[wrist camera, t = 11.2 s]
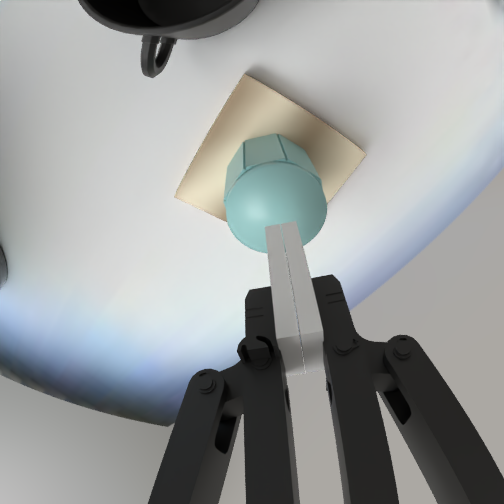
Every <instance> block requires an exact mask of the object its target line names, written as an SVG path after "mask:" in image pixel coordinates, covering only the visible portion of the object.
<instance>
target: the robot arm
mask: <svg viewBox="0 0 504 504" xmlns="http://www.w3.org/2000/svg"><path fill="white" fill-rule="evenodd" d="M281 228H282V232H281ZM282 233H283V237H282ZM265 234H266V243H267V252H268V262H269V271H270V281H271V286H269V287H264V288H258V289H252V290H249V292H248V294H247V296H246V298H245V333H246V337H245V338H244V339H242V341H241V342H240V343H239V345H238V349H237V353H238V355H239V357H240V359H241V360H240V361H239V362H238V363H237V364H236V365H234V366H232V367H230V368H227V369H225V370H223V371H220V372H218V371H217V370H213V369H204V370H201V371H199V372H197V373H196V374H195V375H194V376H193V377H192V378H191V380H190V382H189V384H188V387H187V390H186V393H185V396H184V399H183V402H182V404H181V407H180V410H179V413H178V416H177V419H176V422H175V425H174V428H173V430H172V433H171V436H170V439H169V442H168V445H167V448H166V451H165V454H164V457H163V460H162V463H161V466H160V469H159V472H158V475H157V478H156V480H155V484H154V486H153V490H152V492H151V496H150V499H149V502H148V504H218V503H219V499H220V495H221V491H222V488H223V484H224V481H225V477H226V473H227V469H228V466H229V462H230V458H231V454H232V450H233V447H234V442H235V439H236V435H237V431H238V427H239V423H240V419H241V415H242V414H244V447H245V483H246V504H300V500H299V489H298V478H297V468H296V457H295V447H294V437H293V427H292V418H291V408H290V400H289V390H288V386H287V379H286V376H292V375H298V374H304V373H305V370H306V373H310V372H316V371H321V370H325V373H326V390H327V391H328V395H329V401H330V407H331V413H332V419H333V426H334V432H335V438H336V445H337V452H338V459H339V466H340V474H341V481H342V490H343V498H344V504H399V500H398V494H397V488H396V482H395V476H394V471H393V466H392V460H391V455H390V451H389V446H388V441H387V436H386V432H385V427H384V423H383V419H382V415H381V411H380V407H379V402H378V398H377V395H376V391H378V393H379V395H380V396H381V398H382V400H383V402H384V403H385V405H386V407H387V409H388V411H389V412H390V414H391V416H392V418H393V419H394V421H395V423H396V425H397V427H398V429H399V431H400V432H401V434H402V436H403V438H404V440H405V442H406V443H407V445H408V447H409V449H410V451H411V453H412V454H413V456H414V458H415V460H416V462H417V464H418V466H419V468H420V470H421V471H422V473H423V475H424V477H425V479H426V481H427V483H428V485H429V487H430V489H431V491H432V493H433V494H434V497H435V499H436V501H437V503H438V504H504V478H503V476H502V474H501V473H500V471H499V469H498V467H497V465H496V463H495V461H494V460H493V458H492V456H491V454H490V452H489V451H488V449H487V447H486V446H485V444H484V442H483V440H482V439H481V437H480V436H479V434H478V432H477V430H476V429H475V427H474V425H473V424H472V422H471V421H470V419H469V417H468V416H467V414H466V413H465V411H464V409H463V408H462V406H461V405H460V403H459V402H458V400H457V399H456V397H455V395H454V394H453V393H452V391H451V389H450V388H449V386H448V385H447V383H446V382H445V381H444V379H443V378H442V376H441V375H440V373H439V372H438V370H437V369H436V367H435V366H434V365H433V363H432V362H431V360H430V359H429V357H428V356H427V355H426V353H425V352H424V351H423V349H422V348H421V346H420V345H419V343H418V342H417V341H416V340H415V339H414V338H412V337H410V336H407V335H397V336H394V337H393V338H391V339H390V340H389V341H388V342H373V341H368V340H366V339H364V338H362V337H361V336H359V334H358V333H357V332H356V330H355V328H354V325H353V322H352V318H351V315H350V312H349V309H348V305H347V302H346V300H345V296H344V293H343V290H342V287H341V284H340V282H339V281H338V280H337V279H336V278H335V277H334V276H333V275H326V276H321V277H316V278H311V277H310V273H309V269H308V265H307V261H306V257H305V253H304V249H303V245H302V241H301V237H300V234H299V230H298V226H297V223H296V221H293V222H288V223H282V224H281V226H280V224H277V225H271V226H266V227H265ZM283 239H284V242H283ZM284 245H285V248H284ZM285 250H286V253H285ZM286 256H287V259H286ZM287 261H288V264H287ZM288 267H289V270H288ZM289 273H290V276H289ZM6 278H7V266H6V262H5V258H4V255H3V252H2V250H1V247H0V289H1V288H2V286H3V285H4V283H5V281H6ZM290 278H291V282H290ZM291 284H292V287H291ZM292 290H293V293H292ZM293 296H294V299H293ZM294 302H295V305H294ZM295 308H296V311H295ZM296 313H297V317H296ZM297 320H298V323H297ZM298 326H299V330H298ZM299 332H300V336H299ZM300 338H301V342H300ZM301 344H302V349H301ZM302 351H303V356H302ZM303 357H304V362H303ZM304 364H305V370H304Z"/></svg>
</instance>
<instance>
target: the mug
mask: <svg viewBox="0 0 504 504" xmlns="http://www.w3.org/2000/svg"><path fill="white" fill-rule="evenodd" d="M78 1H79V3H80V5H81V6H82V7H83V9H84V10H85V11H86V12H87V13H88V14H89V16H91V17H92V18H93V19H95V20H96V21H97V22H99V23H101V24H102V25H104V26H106V27H108V28H110V29H114V30H117V31H120V32H124V33H129V34H135V35H143V38H142V42H143V44H142V50H141V68H142V72H143V74H144V75H145V76H148V77H151V78H154V77H155V76H157V75H158V74H160V73H161V72H162V71H163V69H164V67H165V66H166V64H167V62H168V59H169V57H170V54H171V51H172V48H173V45H175V44H176V42H177V39H185V40H190V39H201V38H206V37H210V36H214V35H217V34H220V33H222V32H224V31H227V30H228V29H230V28H232V27H234V26H235V25H237V24H238V23H240V22H241V21H242V20H243V19H245V18H246V17H247V16H248V15H249V14H250V13H251V12H252V10H253V9H254V8H255V6H256V5H257V3H258V1H259V0H78ZM160 37H161V40H160ZM159 41H160V43H161V45H160V48H159V51H158V54H157V56H156V58H155V55H156V49H157V44H159Z"/></svg>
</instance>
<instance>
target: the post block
mask: <svg viewBox="0 0 504 504" xmlns="http://www.w3.org/2000/svg"><path fill="white" fill-rule="evenodd" d="M275 133H276V134H277V135H278V134H280V135H282V136H283V137H285V138H287V139H288V140H290V141H291V142H293V143H295V144H296V145H298V146H300V147H301V148H303V149H304V150H305V151H306V153H307V155H308V157H309V158H310V160H311V162H312V164H313V166H314V167H315V169H316V171H317V173H318V175H319V177H320V179H321V181H322V188H323V192H324V195H325V197H326V202H327V204H328V202H329V201H330V200H331V199H332V197H333V196H334V195H335V194H336V193H337V191H338V190H339V189H340V188H341V186H342V185H343V184H344V183H345V181H346V180H347V179H348V178H349V176H350V175H351V174H352V173H353V171H354V170H355V169H356V168H357V166H358V165H359V164H360V163H361V161H362V160H363V159H364V158H365V156H366V155H367V154H366V153H365V152H364V151H363V150H362V149H360V148H359V147H358V146H357V145H355V144H354V143H353V142H351V141H350V140H348V139H347V138H346V137H344V136H343V135H342V134H340V133H339V132H337V131H336V130H335V129H333V128H332V127H330V126H329V125H328V124H326V123H325V122H323V121H322V120H320V119H319V118H317V117H316V116H314V115H313V114H311V113H310V112H308V111H307V110H305V109H304V108H302V107H301V106H299V105H297V104H296V103H294V102H293V101H291V100H289V99H288V98H286V97H285V96H283V95H281V94H280V93H278V92H276V91H275V90H273V89H271V88H269V87H268V86H266V85H264V84H263V83H261V82H259V81H257V80H255V79H254V78H252V77H250V76H248V75H246V74H245V73H244V75H243V76H242V78H241V79H240V81H239V82H238V84H237V86H236V87H235V89H234V90H233V92H232V94H231V95H230V97H229V98H228V100H227V102H226V103H225V105H224V107H223V108H222V110H221V112H220V113H219V115H218V117H217V118H216V120H215V122H214V123H213V125H212V127H211V128H210V130H209V132H208V134H207V135H206V137H205V139H204V141H203V143H202V144H201V146H200V148H199V150H198V151H197V153H196V155H195V157H194V159H193V161H192V162H191V164H190V166H189V168H188V170H187V172H186V174H185V176H184V177H183V179H182V181H181V183H180V185H179V187H178V189H177V191H176V194H175V196H174V197H175V198H177V199H179V200H181V201H183V202H185V203H188V204H190V205H192V206H194V207H196V208H198V209H200V210H202V211H205V212H207V213H209V214H211V215H213V216H215V217H217V218H219V219H221V220H224V221H226V222H227V217H226V208H225V205H224V202H223V200H224V191H225V182H226V173H227V166H228V165H229V163H230V161H231V160H232V158H233V157H234V155H235V153H236V152H237V150H238V149H239V147H240V146H241V144H242V142H244V143H245V140H248V139H253V138H257V137H261V136H266V135H270V134H275Z"/></svg>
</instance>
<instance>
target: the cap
mask: <svg viewBox="0 0 504 504" xmlns="http://www.w3.org/2000/svg"><path fill="white" fill-rule="evenodd" d="M223 202H224V205H225V208H226V217H227V222H228V225H229V228H230V230H231V231H232V233H233V235H234V236H235V237H236V238H237V239H238V240H239V241H240V242H241V243H242V244H244V245H245V246H247V247H249V248H251V249H253V250H256V251H259V252H263V253H268V252H267V243H266V234H265V227H266V226H271V225H277V224H280V226H281V224H282V223H288V222H293V221H296V223H297V226H298V230H299V234H300V237H301V241H302V245H303V246H304V245H305V244H307V243H308V242H310V241H311V240H312V239H313V238H314V237H315V236H316V235H317V234H318V232H319V231H320V230H321V228H322V226H323V224H324V222H325V219H326V214H327V202H326V197H325V195H324V192H323V188H322V181H321V179H320V177H319V175H318V173H317V171H316V169H315V167H314V166H313V164H312V162H311V160H310V158H309V157H308V155H307V153H306V151H305V150H304V149H303V148H301V147H300V146H298V145H296V144H295V143H293V142H291V141H290V140H288V139H287V138H285V137H283V136H282V135H280V134H278V135H277V134H276V133H275V134H270V135H266V136H261V137H257V138H253V139H248V140H245V143H244V142H242V144H241V146H240V147H239V149H238V150H237V152H236V153H235V155H234V157H233V158H232V160H231V161H230V163H229V165H228V166H227V173H226V182H225V191H224V200H223ZM281 232H282V228H281ZM282 237H283V233H282ZM283 242H284V239H283ZM284 248H285V245H284ZM285 252H286V250H285Z"/></svg>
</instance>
